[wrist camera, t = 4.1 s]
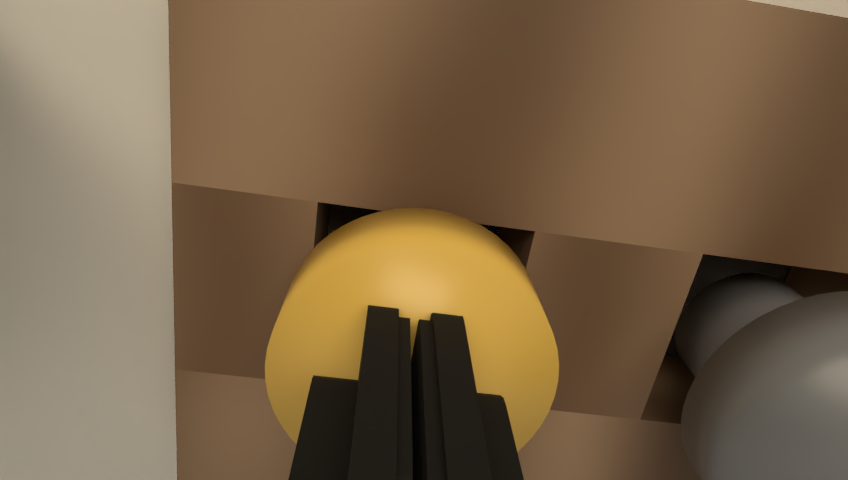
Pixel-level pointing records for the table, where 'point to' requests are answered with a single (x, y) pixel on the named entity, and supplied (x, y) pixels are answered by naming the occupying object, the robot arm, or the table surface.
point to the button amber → (414, 310)
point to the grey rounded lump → (765, 381)
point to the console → (500, 186)
